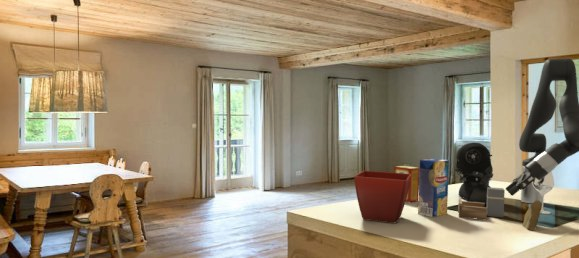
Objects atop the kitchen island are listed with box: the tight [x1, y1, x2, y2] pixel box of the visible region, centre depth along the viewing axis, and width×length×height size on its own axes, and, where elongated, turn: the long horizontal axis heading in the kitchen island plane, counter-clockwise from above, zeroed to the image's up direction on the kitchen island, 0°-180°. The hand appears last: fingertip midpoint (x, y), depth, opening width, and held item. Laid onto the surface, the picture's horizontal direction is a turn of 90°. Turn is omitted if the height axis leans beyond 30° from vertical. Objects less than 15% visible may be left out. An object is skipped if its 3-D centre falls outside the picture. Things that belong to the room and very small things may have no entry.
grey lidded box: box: [485, 186, 506, 218], centre depth 182 cm, size 5×6×11 cm
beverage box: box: [417, 158, 450, 218], centre depth 181 cm, size 7×11×22 cm, turn 132°
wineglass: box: [532, 170, 555, 215], centre depth 190 cm, size 8×8×18 cm
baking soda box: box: [393, 165, 420, 203], centre depth 211 cm, size 10×6×16 cm
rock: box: [522, 201, 542, 231], centre depth 163 cm, size 11×9×10 cm
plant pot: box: [353, 170, 411, 224], centre depth 171 cm, size 19×19×17 cm
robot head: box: [454, 142, 494, 205], centre depth 217 cm, size 30×17×29 cm, turn 179°
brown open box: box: [457, 198, 488, 220], centre depth 180 cm, size 12×10×6 cm
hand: (508, 192), depth 180 cm, fingers open, 8 cm apart
